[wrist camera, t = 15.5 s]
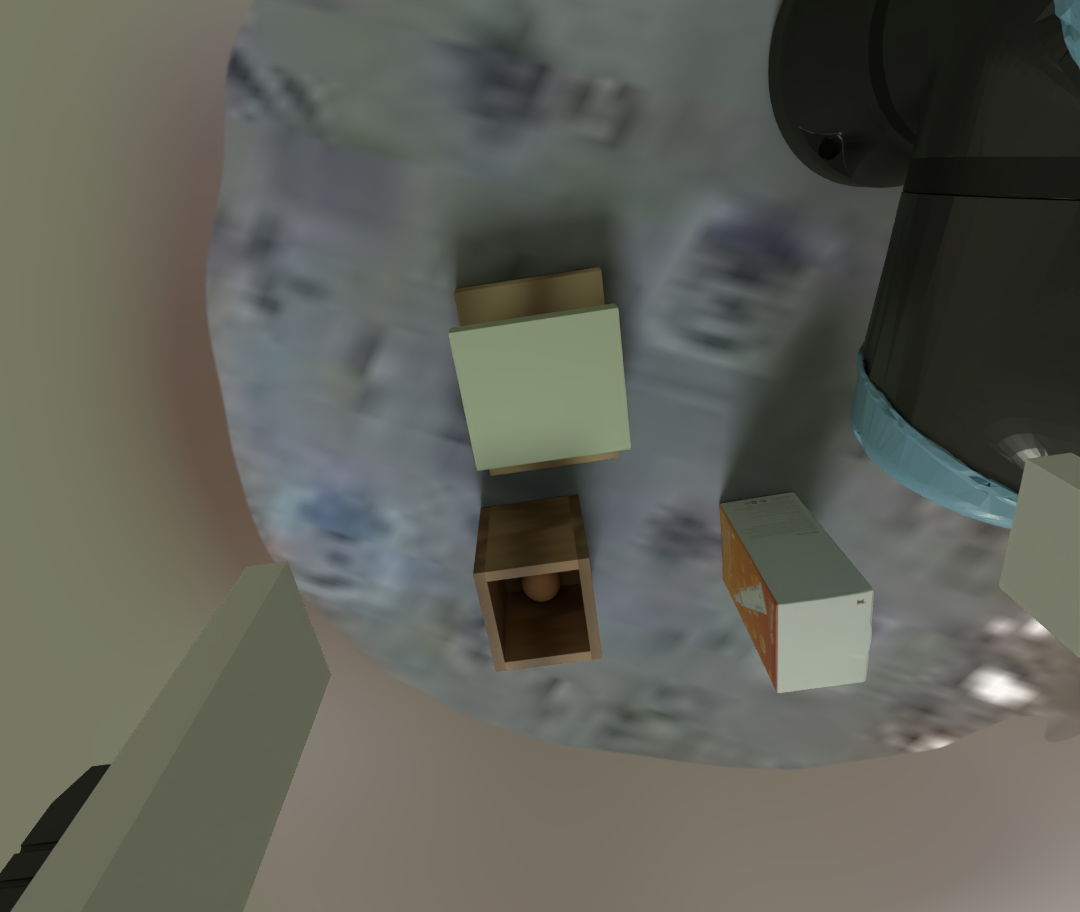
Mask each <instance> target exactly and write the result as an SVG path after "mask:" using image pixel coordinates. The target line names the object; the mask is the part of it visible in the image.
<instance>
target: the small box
mask: <svg viewBox="0 0 1080 912" xmlns="http://www.w3.org/2000/svg"><path fill="white" fill-rule="evenodd" d="M719 507H720V516H721V532H722V554H723V580H724V582H725V584H726V586H727V589H728V591H729V593H730V595H731V597H732V599H733V601H734V603H735V605H736V607H737V609H738V611H739V614H740V616H741V618H742V620H743V622H744V624H745V626H746V628H747V630H748V632H749V635H750V637H751V639H752V641H753V643H754V645H755V647H756V649H757V651H758V653H759V656H760V658H761V660H762V662H763V664H764V666H765V668H766V670H767V672H768V675H769V676H770V679H771V681H772V683H773V685H774V687H775V689H776V692H777V693H782V692H790V691H797V690H805V689H812V688H820V687H827V686H835V685H843V684H850V683H858V682H865V680H866V676H867V667H868V658H869V649H870V643H871V637H872V610H873V596H874V589H873V588H872V587H871V586H870V584H869V583H868V582H867V581H866V579H865V578H864V577H863V576H862V575H861V573H860V572H859V571H858V570H857V569H856V567H855V566H854V565H853V564H852V562H851V561H850V560H849V559H848V558H847V556H846V555H845V554H844V553H843V551H842V550H841V549H840V548H839V547H838V545H837V544H836V543H835V542H834V541H833V539H832V538H831V537H830V536H829V535H828V533H827V532H826V531H825V530H824V529H823V527H822V526H821V525H820V524H819V523H818V521H817V520H816V519H815V518H814V516H813V515H812V514H811V513H810V511H809V510H808V509H807V508H806V506H805V505H804V504H803V503H802V502H801V500H800V499H799V498H798V497H797V495H796V494H795V493H794V492H790V493H783V494H777V495H770V496H764V497H758V498H751V499H745V500H739V501H733V502H727V503H721V504H720V505H719Z"/></svg>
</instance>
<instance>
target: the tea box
mask: <svg viewBox="0 0 1080 912" xmlns="http://www.w3.org/2000/svg"><path fill="white" fill-rule="evenodd" d="M555 572H558V573H559V575H560V580H561V584H560V589H559V591H558V593H557V594H556V595H555V596H554V597H553V598H552V599H550V600H548V601H544V602H538V601H535V600H532V599H531V598H529V597H528V596H527V595H526V594H525V592H524V590H523V587H522V577H526V576H533V575H541V574H548V573H555ZM473 575H474V579H475V584H476V588H477V592H478V597H479V601H480V605H481V610H482V614H483V618H484V623H485V627H486V631H487V636H488V640H489V644H490V649H491V653H492V657H493V662H494V666H495V670H496V672H500V671H508V670H515V669H523V668H531V667H538V666H546V665H554V664H561V663H569V662H577V661H584V660H592V659H600V658H602V651H601V644H600V636H599V629H598V621H597V613H596V606H595V598H594V591H593V583H592V575H591V568H590V560H589V554H588V548H587V543H586V537H585V531H584V525H583V520H582V514H581V508H580V503H579V497H578V495H570V496H563V497H556V498H549V499H542V500H535V501H527V502H520V503H513V504H506V505H499V506H492V507H485V508H481V511H480V520H479V528H478V537H477V546H476V554H475V563H474V572H473Z"/></svg>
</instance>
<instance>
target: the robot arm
mask: <svg viewBox="0 0 1080 912" xmlns="http://www.w3.org/2000/svg"><path fill="white" fill-rule="evenodd" d="M769 91H770V98H771V104H772V108H773V112H774V116H775V119H776V122H777V124H778V127H779V129H780V131H781V133H782V136H783V138H784V139H785V141H786V143H787V144H788V146H789V147H790V149H791V150H792V151H793V153H794V154H795V155H796V156H797V157H798V159H799V160H801V161H802V162H803V163H804V164H805V165H806V166H807V167H808V168H810V169H811V170H812V171H814V172H815V173H817V174H818V175H820V176H822V177H824V178H826V179H828V180H831V181H833V182H836V183H839V184H844V185H848V186H855V187H872V188H888V187H896V186H902V185H904V188H903V192H902V193H901V197H900V201H899V205H898V209H897V214H896V218H895V222H894V226H893V230H892V234H891V239H890V243H889V247H888V251H887V255H886V259H885V263H884V267H883V271H882V275H881V279H880V283H879V286H878V290H877V294H876V298H875V302H874V306H873V310H872V314H871V318H870V322H869V325H868V329H867V333H866V337H865V341H864V342H863V345H862V346H861V348H860V349H859V352H858V355H857V369H858V372H859V373H858V379H857V384H856V389H855V395H854V400H853V405H852V411H851V421H852V427H853V431H854V434H855V435H856V437H857V439H858V440H859V442H860V443H861V445H862V446H863V447H864V451H865V452H866V454H867V455H868V456H869V457H870V458H871V459H872V460H873V461H874V462H875V463H876V464H877V465H878V466H879V467H880V468H881V469H882V470H883V471H885V472H886V473H887V474H888V475H890V476H891V477H892V478H894V479H895V480H897V481H898V482H899V483H901V484H903V485H904V486H906V487H907V488H909V489H911V490H912V491H914V492H916V493H918V494H920V495H921V496H923V497H925V498H927V499H929V500H931V501H933V502H935V503H937V504H939V505H941V506H943V507H946V508H948V509H951V510H953V511H955V512H958V513H960V514H963V515H965V516H968V517H971V518H973V519H976V520H979V521H983V522H986V523H989V524H993V525H997V526H1000V527H1005V528H1009V529H1011V532H1010V537H1009V542H1008V546H1007V551H1006V556H1005V560H1004V565H1003V570H1002V574H1001V579H1000V584H999V588H1001V589H1002V590H1003V591H1004V592H1005V593H1006V594H1007V595H1009V596H1010V597H1011V598H1012V599H1013V600H1014V601H1015V602H1016V603H1018V604H1019V605H1020V606H1021V607H1022V608H1023V609H1024V610H1026V611H1027V612H1028V613H1029V614H1030V615H1031V616H1032V617H1034V618H1035V619H1036V620H1037V621H1038V622H1039V623H1040V624H1041V625H1043V626H1044V627H1045V628H1046V629H1047V630H1048V631H1049V632H1051V633H1052V634H1053V635H1054V636H1055V637H1056V638H1057V639H1058V640H1060V641H1061V642H1062V643H1063V644H1064V645H1065V646H1066V647H1068V648H1069V649H1070V650H1071V651H1072V652H1073V653H1074V654H1076V655H1077V656H1078V657H1079V658H1080V0H784V2H783V4H782V7H781V9H780V12H779V15H778V18H777V21H776V25H775V28H774V33H773V37H772V42H771V48H770V56H769ZM330 676H331V673H330V671H329V669H328V665H327V663H326V660H325V658H324V655H323V652H322V650H321V647H320V645H319V642H318V639H317V637H316V634H315V632H314V629H313V626H312V624H311V621H310V619H309V616H308V613H307V611H306V608H305V606H304V603H303V601H302V598H301V595H300V593H299V590H298V587H297V585H296V582H295V580H294V577H293V574H292V572H291V569H290V566H289V564H288V561H285V562H278V563H272V564H263V565H256V566H250V567H246V568H245V569H244V571H243V573H242V574H241V575H240V577H239V578H238V580H237V581H236V583H235V584H234V586H233V587H232V589H231V590H230V591H229V593H228V594H227V596H226V598H225V599H224V600H223V602H222V603H221V605H220V606H219V608H218V609H217V610H216V612H215V613H214V615H213V616H212V618H211V619H210V621H209V622H208V624H207V625H206V626H205V628H204V630H203V631H202V633H201V634H200V635H199V637H198V638H197V640H196V641H195V643H194V644H193V645H192V647H191V648H190V650H189V651H188V653H187V654H186V656H185V657H184V659H183V660H182V662H181V663H180V665H179V666H178V668H177V669H176V670H175V672H174V673H173V675H172V676H171V678H170V679H169V681H168V682H167V684H166V685H165V687H164V688H163V690H162V691H161V692H160V694H159V695H158V697H157V698H156V700H155V701H154V703H153V704H152V705H151V707H150V709H149V710H148V711H147V713H146V714H145V716H144V717H143V719H142V720H141V722H140V723H139V724H138V726H137V727H136V729H135V730H134V732H133V733H132V735H131V736H130V738H129V739H128V741H127V742H126V743H125V745H124V746H123V748H122V749H121V751H120V752H119V754H118V755H117V757H116V758H115V760H114V761H113V762H112V764H109V765H100V766H92V767H91V768H90V769H89V770H88V771H86V772H85V773H84V774H83V775H82V776H81V777H80V778H79V779H78V780H77V781H76V782H75V783H73V784H72V785H71V786H70V787H69V788H68V789H67V790H66V791H65V792H64V793H62V794H61V795H60V796H59V797H58V798H57V799H56V800H55V801H54V802H53V803H52V804H51V805H50V806H49V808H48V809H47V810H46V812H45V813H44V815H43V816H42V817H41V819H40V820H39V821H38V823H37V824H36V825H35V827H34V828H33V829H32V831H31V832H30V834H29V835H28V836H27V838H26V839H25V841H24V842H23V843H22V844H21V851H20V853H18V854H14V855H13V857H12V858H11V860H10V861H9V862H8V863H7V865H6V866H5V868H4V869H3V870H2V872H1V873H0V912H243V910H244V907H245V904H246V902H247V899H248V896H249V894H250V891H251V888H252V886H253V883H254V880H255V878H256V875H257V872H258V869H259V867H260V864H261V862H262V859H263V856H264V854H265V851H266V848H267V845H268V843H269V840H270V837H271V835H272V832H273V829H274V827H275V824H276V821H277V819H278V816H279V813H280V811H281V808H282V805H283V802H284V800H285V797H286V794H287V792H288V789H289V786H290V784H291V781H292V778H293V776H294V773H295V770H296V768H297V765H298V762H299V759H300V757H301V754H302V751H303V749H304V746H305V743H306V740H307V738H308V735H309V733H310V730H311V727H312V725H313V722H314V719H315V716H316V714H317V711H318V708H319V706H320V703H321V700H322V698H323V695H324V692H325V690H326V687H327V684H328V681H329V679H330Z"/></svg>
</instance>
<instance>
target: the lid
mask: <svg viewBox="0 0 1080 912" xmlns="http://www.w3.org/2000/svg"><path fill="white" fill-rule="evenodd" d="M448 335H449V339H450V344H451V349H452V354H453V358H454V363H455V368H456V373H457V377H458V382H459V387H460V392H461V396H462V401H463V406H464V411H465V416H466V420H467V425H468V430H469V435H470V439H471V444H472V449H473V454H474V458H475V463H476V468H477V471H480V470H487V469H494V468H501V467H508V466H515V465H522V464H529V463H536V462H543V461H550V460H557V459H564V458H571V457H578V456H585V455H592V454H599V453H606V452H613V451H620V450H627V449H631V445H630V434H629V422H628V411H627V400H626V389H625V378H624V366H623V355H622V344H621V333H620V321H619V310H618V307H617V305H616V304H615V303H612V304H606V305H599V306H592V307H586V308H579V309H572V310H566V311H559V312H552V313H546V314H539V315H533V316H526V317H519V318H513V319H506V320H499V321H493V322H486V323H479V324H473V325H466V326H459V327H453V328H450V330H449V333H448Z"/></svg>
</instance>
